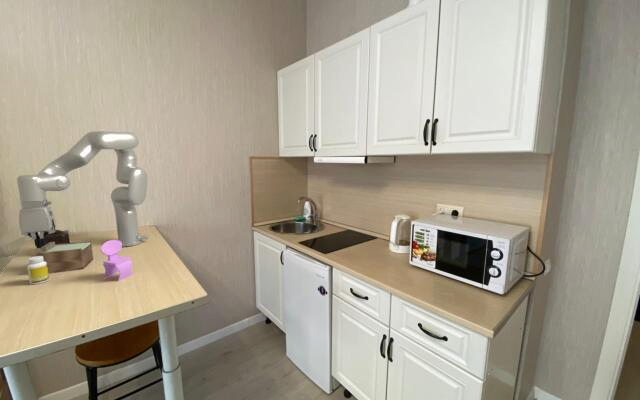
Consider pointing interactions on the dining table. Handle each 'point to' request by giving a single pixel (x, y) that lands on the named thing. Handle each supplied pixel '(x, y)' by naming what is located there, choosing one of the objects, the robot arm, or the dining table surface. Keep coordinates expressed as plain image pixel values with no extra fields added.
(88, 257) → the box
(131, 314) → the dining table surface
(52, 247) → the lid
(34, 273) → the supplement bottle
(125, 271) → the toy chair
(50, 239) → the brown manual coffee grinder
